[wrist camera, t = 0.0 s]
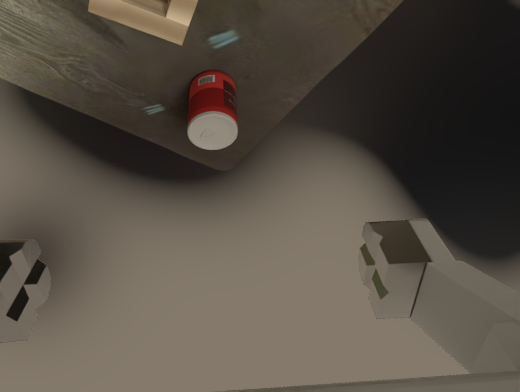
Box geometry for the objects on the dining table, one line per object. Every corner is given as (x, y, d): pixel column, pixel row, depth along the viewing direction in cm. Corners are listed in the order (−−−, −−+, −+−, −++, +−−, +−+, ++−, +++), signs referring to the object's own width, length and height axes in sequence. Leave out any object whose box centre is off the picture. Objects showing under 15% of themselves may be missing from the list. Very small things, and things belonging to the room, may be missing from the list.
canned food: (181, 93, 71) (178, 139, 64) (205, 60, 66) (204, 106, 59) (219, 111, 75) (220, 156, 68) (244, 81, 70) (247, 127, 63)
